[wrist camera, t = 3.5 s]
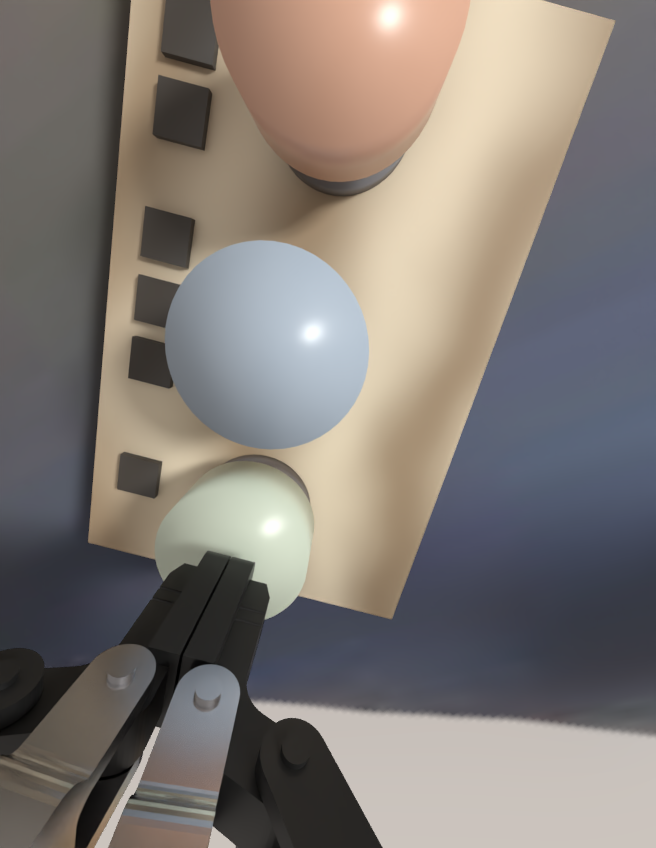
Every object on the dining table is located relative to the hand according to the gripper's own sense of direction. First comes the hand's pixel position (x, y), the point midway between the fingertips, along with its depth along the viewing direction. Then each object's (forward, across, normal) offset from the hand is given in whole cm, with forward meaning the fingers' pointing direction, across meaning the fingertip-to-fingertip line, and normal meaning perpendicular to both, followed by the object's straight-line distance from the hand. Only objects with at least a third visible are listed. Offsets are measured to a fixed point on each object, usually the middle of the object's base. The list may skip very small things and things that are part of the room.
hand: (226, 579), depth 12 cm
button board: (+7, 0, -7) cm, 10 cm away
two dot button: (+2, 0, -14) cm, 14 cm away
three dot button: (+2, 0, -7) cm, 7 cm away
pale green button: (+3, 0, 0) cm, 3 cm away
